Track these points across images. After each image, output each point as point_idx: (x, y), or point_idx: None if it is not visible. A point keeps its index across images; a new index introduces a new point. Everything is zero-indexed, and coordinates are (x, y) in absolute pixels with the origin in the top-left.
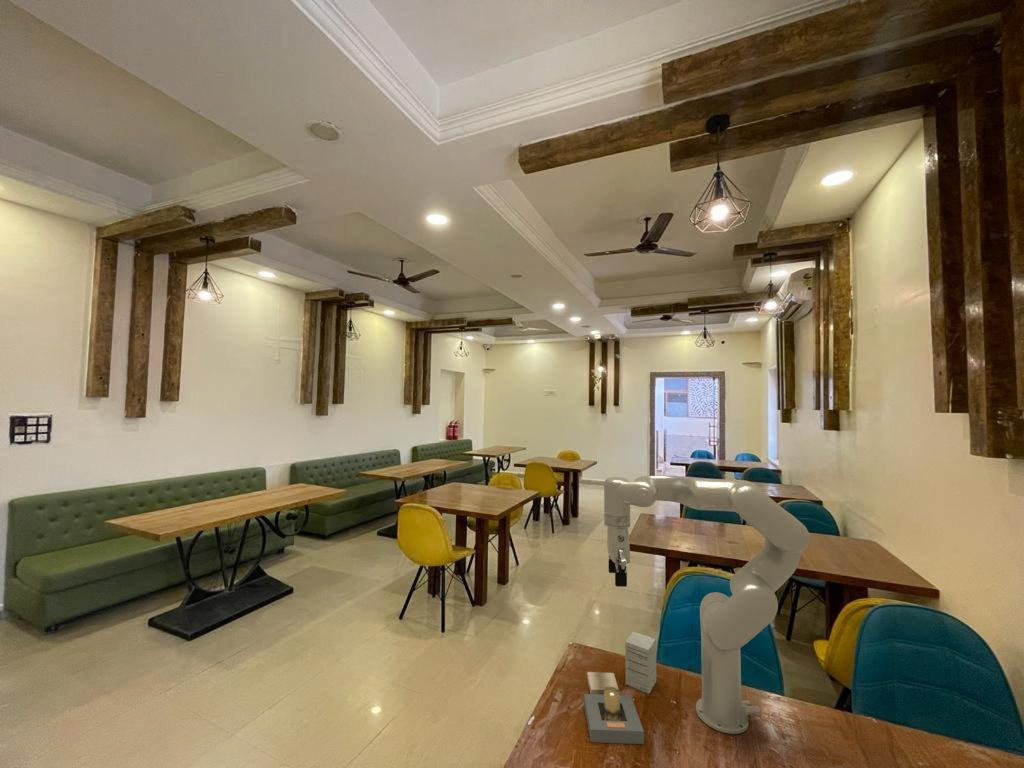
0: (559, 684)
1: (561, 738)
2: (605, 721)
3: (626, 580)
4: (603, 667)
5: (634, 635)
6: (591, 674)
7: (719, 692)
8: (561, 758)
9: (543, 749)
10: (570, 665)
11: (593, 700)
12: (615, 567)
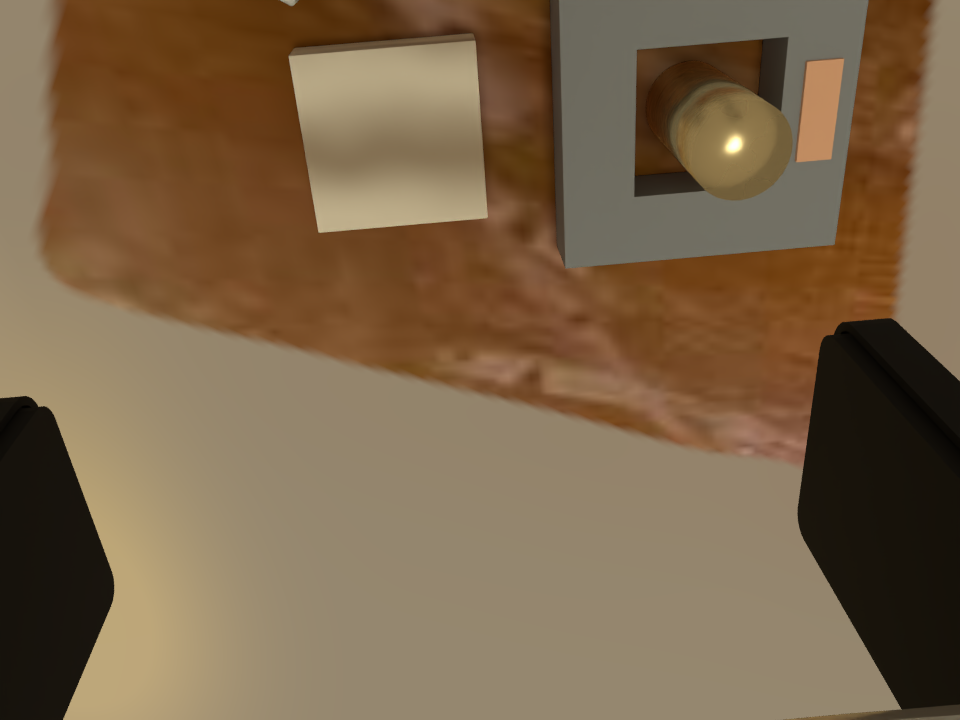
0: (404, 364)
1: (779, 346)
2: None
3: (955, 391)
4: (170, 104)
5: None
6: (338, 207)
7: None
8: None
9: None
10: (211, 310)
11: (619, 218)
12: (21, 568)
